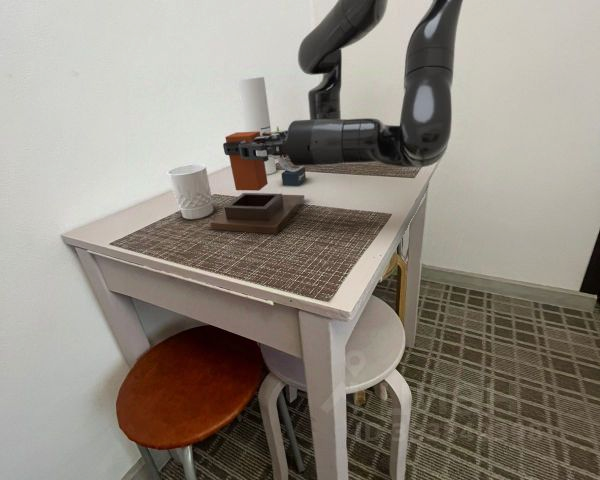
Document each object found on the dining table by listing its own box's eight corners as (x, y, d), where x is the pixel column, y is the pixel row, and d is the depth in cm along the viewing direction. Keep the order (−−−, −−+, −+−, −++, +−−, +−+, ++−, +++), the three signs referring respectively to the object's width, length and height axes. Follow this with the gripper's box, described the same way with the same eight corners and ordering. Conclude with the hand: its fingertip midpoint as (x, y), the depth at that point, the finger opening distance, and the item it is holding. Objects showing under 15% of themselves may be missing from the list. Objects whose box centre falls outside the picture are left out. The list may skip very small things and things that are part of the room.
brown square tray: (248, 199, 77) (245, 183, 75) (304, 201, 73) (303, 184, 71) (211, 229, 64) (207, 210, 62) (277, 234, 60) (274, 214, 58)
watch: (305, 186, 82) (301, 141, 77) (276, 185, 85) (270, 141, 80) (313, 179, 86) (309, 136, 81) (285, 178, 89) (280, 136, 84)
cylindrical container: (280, 170, 96) (268, 76, 85) (259, 176, 93) (244, 79, 81) (268, 166, 102) (256, 77, 90) (248, 172, 98) (232, 80, 87)
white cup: (178, 211, 75) (165, 168, 70) (212, 203, 77) (202, 161, 72) (181, 224, 68) (168, 177, 63) (219, 214, 71) (208, 169, 66)
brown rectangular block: (245, 183, 66) (235, 132, 61) (267, 183, 64) (259, 131, 60) (235, 190, 63) (225, 136, 58) (259, 190, 61) (250, 135, 56)
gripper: (329, 113, 59) (245, 118, 65) (304, 127, 48) (204, 132, 53) (331, 154, 63) (251, 156, 68) (308, 177, 51) (214, 177, 57)
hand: (231, 145), depth 61 cm, fingers closed on brown rectangular block, 4 cm apart
